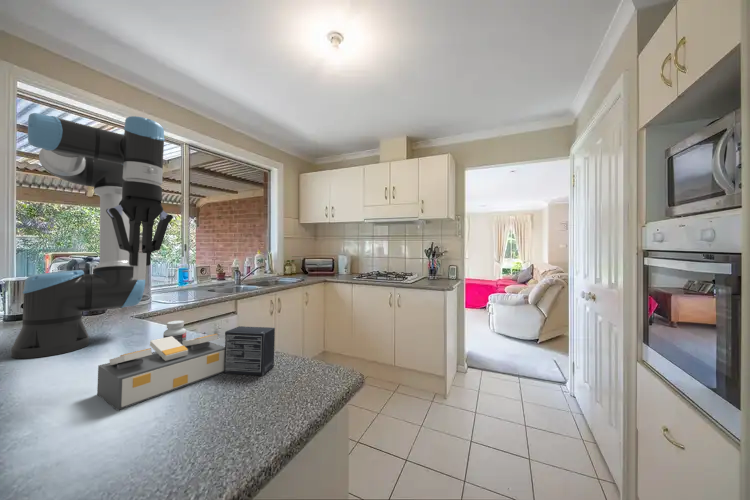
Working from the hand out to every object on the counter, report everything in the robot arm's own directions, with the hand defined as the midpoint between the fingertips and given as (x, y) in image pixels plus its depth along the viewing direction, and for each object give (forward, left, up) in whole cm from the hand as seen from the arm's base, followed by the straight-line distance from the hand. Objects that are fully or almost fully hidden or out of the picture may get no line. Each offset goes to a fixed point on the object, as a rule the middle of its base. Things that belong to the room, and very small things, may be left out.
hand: (139, 279), depth 68 cm
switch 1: (+11, -5, -15) cm, 19 cm away
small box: (+21, +17, -23) cm, 35 cm away
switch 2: (+11, +2, -15) cm, 19 cm away
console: (+11, +2, -23) cm, 26 cm away
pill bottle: (-5, +11, -23) cm, 26 cm away
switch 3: (+11, +9, -15) cm, 21 cm away
